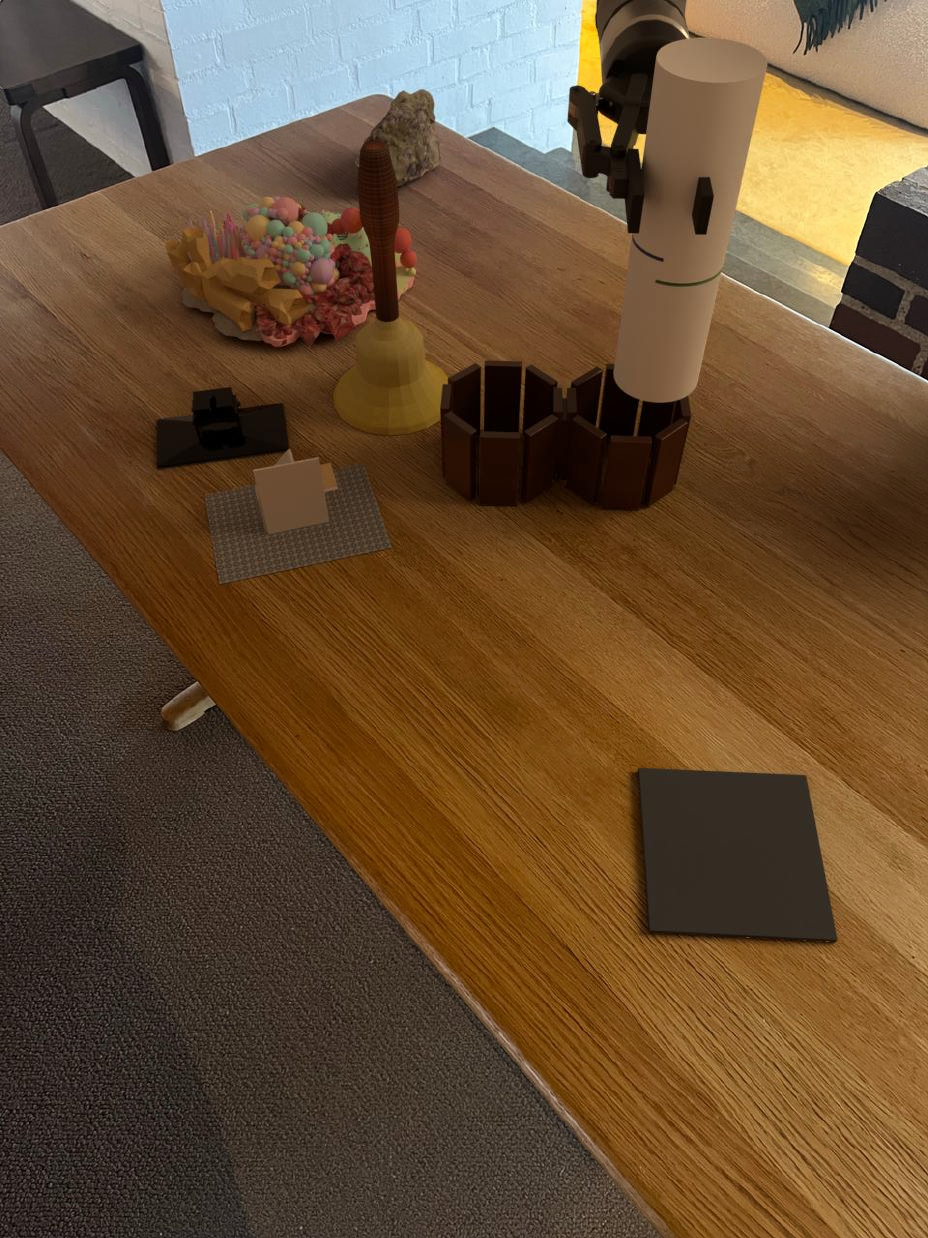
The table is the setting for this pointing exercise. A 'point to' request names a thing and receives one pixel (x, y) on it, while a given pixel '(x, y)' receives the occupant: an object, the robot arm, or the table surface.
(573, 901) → the table surface
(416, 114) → the mineral rock
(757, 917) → the mat
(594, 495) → the holder
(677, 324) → the cylindrical container
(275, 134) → the table surface
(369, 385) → the handbell
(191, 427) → the build plate
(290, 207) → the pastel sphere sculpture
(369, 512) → the architectural model
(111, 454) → the table surface
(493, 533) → the table surface
